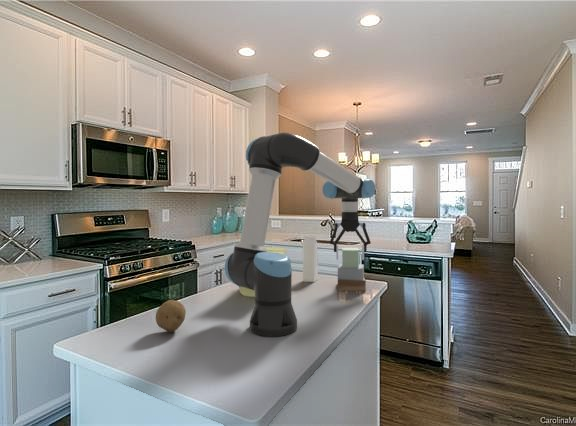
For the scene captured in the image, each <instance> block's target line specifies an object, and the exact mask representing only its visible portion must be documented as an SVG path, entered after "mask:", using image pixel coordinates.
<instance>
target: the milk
mask: <svg viewBox="0 0 576 426" xmlns="http://www.w3.org/2000/svg"><path fill="white" fill-rule="evenodd" d="M318 274H319V273H318V241H317V237H316V236H304V238H303V242H302V282H304V283H305V282H307V283H308V282H309V283H315V282H316V281H317V280H318Z"/></svg>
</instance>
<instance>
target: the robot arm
mask: <svg viewBox="0 0 576 426" xmlns="http://www.w3.org/2000/svg"><path fill="white" fill-rule="evenodd" d="M245 159H246V161H247V165H248V166H249V168H248V171H249V173H250V174H251V179H250V180H251V181H250V186H249V192H248V196H247V201H246V207H245V213H244V217H243V223H242V229H241V234H240V239H239V242H238V243H236V244H235V245H234V248H233V252H232V253H230V255H228V256H227V258H226V260H225V262H224V272H225V276H226V278H227V279H228V281H230V282H231V283H232V284H233V285H236V286H238V287H239V286H240V287H245V288H248V289H251V290H254V291H255V297H254V306H253V309H252V312H251V316H250V319H249V331H250V332H251V333H253V334H255V335H257V336H261V337H262V336H263V337H281V336H287V335H290V334H292V333H294V332H295V331H297V328H298V319H297V315H296V314H295V311H294V307H293V304H292V303H293V302H292V277H293V276H292V273H293V271H292V270H293V269H292V263H291V259H290V257H289V256H287V255H286V254H281V253H276V252H275V253H273V252H268V251H267V249H266V248H265V247H266V246H265V243H266V242H265V241H266V238H267V237H266V236H267V231H268V226H269V219H270V214H271V208H272V205H273V204H272V203H273V199H274V192H275V186H276V181H277V179H279V178H280V177H282V171H283V168H286V167H287V168H290V167H291V168H297V169H299V170H301V171H304V172H306V171H308V172H309V171H310V173H313V174H314V175H316V176H318V177H320V178H322V179H324V180H326V181H325V182H324V183H323V185H322V189H321V190H322V194H323V196H324V197H325V198H326V199H330V200H332V199H333V200H334V199H341V211H342V212H341V222H334V229H333V232H332V235H331V238H330V241H329V244H330V245H333V252H334V253H336V254H335V255H336V256H335V257H336V261H337V260H339V244H338V243H339V242H340V240H341V238H342V237H343V235H344V234H345V233H346V232H347V233H348V232H351V233H354V232H355V234H356V235H357V236H358V238H359V240H360V241H361V242H362V244H361V260H362V261H365V253H367V249H368V247H367V246H368V245H370V244H371V240H370V237H369V234H368V232H367V228H366V226H367V225H366V223H365V222H360V221H359V212H358V211H359V199H369V198H372V197H374V195H375V192H376V184H375V182H374V180H372V179H370V178H368V179H367V178H364V179H362V178H361V177H359V176H358V175H356V174H354V173H353V172H351V171H350V170H348V169H347V168H345V167H344V166H343V165H341V164H339V163H338V162H336V161H335V160H334V159H332V158H331V157H329V156H327V155H326V154H324V153H323V152H321V151H320V148H319V146H317V145H316V144H315V143H312V142H311V141H309V140H307V139H306V138H303V137H302V136H300V135H297V134H294V133H290V132H279V133H275V134H271V135H267V136H263V135H262V136H260V137H258V138H256V139H253V140H252V141H250V143H249V144H248V146H247V147H246V150H245ZM340 226H341V228H342V229H341V231H340V233H339V235H338V236H337V238H336V239H335V237H336V234H337V232H338V228H340ZM359 226H360V228H362V232H363V234H364V237H365V239H366V240H365V239H364V238H363V236H362V235H361V233H360V231H359V230H358V228H359ZM334 240H335V241H334Z"/></svg>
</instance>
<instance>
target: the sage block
mask: <svg viewBox="0 0 576 426" xmlns="http://www.w3.org/2000/svg"><path fill="white" fill-rule="evenodd" d="M341 252H342V254H341V257H342V259H341V262H342V263H341V264H342V266H343V268H359V262H360V261H359V258H360V257H359V255H360V254H359V252H360V251H359V248H358V247H342V250H341Z"/></svg>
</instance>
